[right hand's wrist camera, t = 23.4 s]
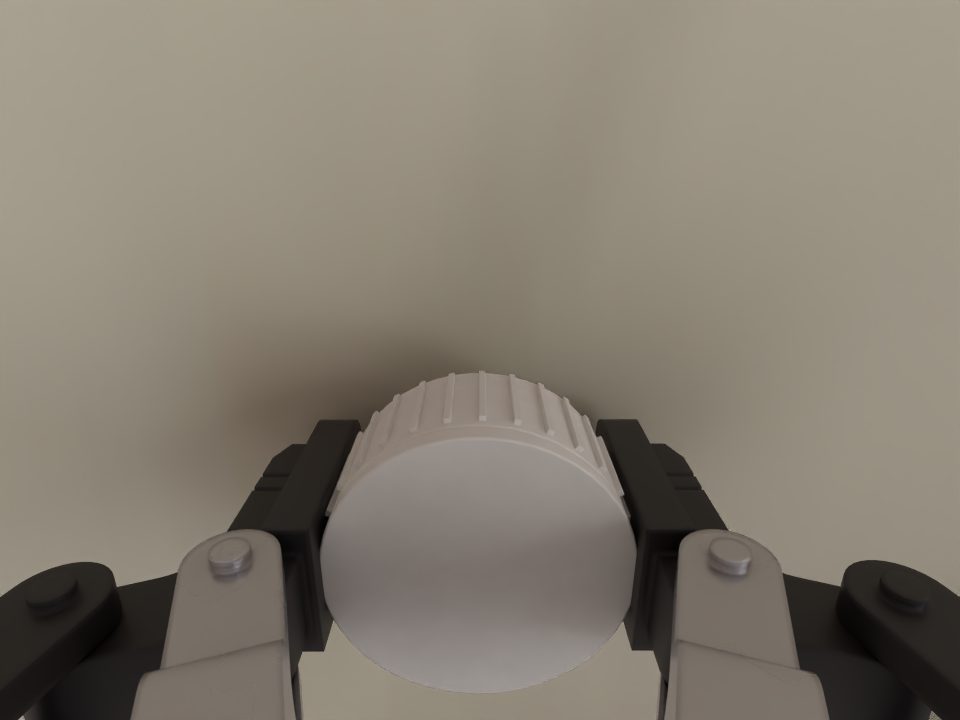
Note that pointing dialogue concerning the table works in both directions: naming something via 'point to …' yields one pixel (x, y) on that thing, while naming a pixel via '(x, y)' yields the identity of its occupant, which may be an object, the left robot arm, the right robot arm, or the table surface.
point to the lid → (478, 537)
